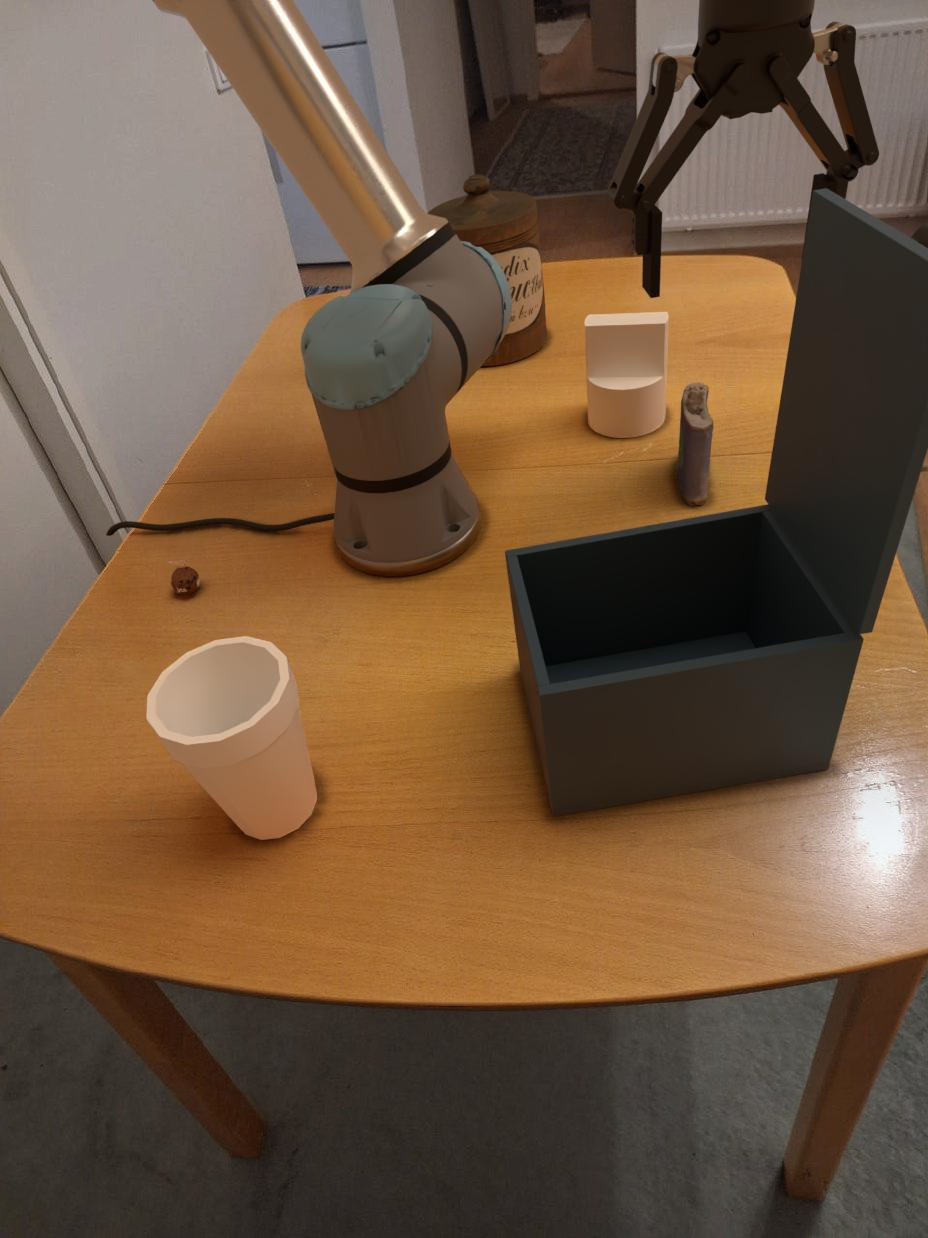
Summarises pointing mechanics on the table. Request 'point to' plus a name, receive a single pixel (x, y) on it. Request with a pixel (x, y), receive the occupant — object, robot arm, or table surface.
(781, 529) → the box
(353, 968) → the table surface
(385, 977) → the table surface
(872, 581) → the lunchbox lid
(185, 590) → the chocolate
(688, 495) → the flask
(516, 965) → the table surface
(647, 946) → the table surface
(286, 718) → the foam cup
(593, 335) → the cylinder with rectangular tab
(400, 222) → the robot arm
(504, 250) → the wooden container
